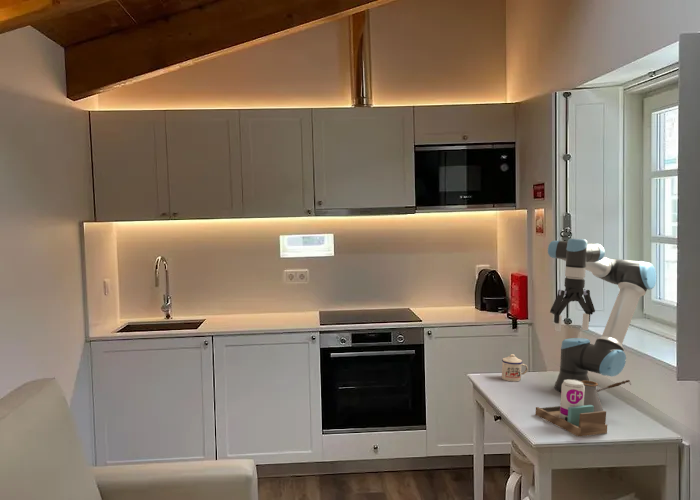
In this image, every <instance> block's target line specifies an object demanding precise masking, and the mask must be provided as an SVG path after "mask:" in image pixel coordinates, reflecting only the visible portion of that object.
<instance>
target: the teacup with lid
mask: <svg viewBox="0 0 700 500" xmlns="http://www.w3.org/2000/svg"><path fill="white" fill-rule="evenodd" d="M501 361H502V362H501V363H502V367H501V379H502V380H504V381H506V382H519V381H521V379H522V375H525V374H526V373H528V370H529V368H528V365H527V364H526V363H523V360H522V359H520V358H518V357H517V356H516V355H515V354H514V353H511V354H510V355H508V356H506V357H503V358H502V360H501ZM523 366H524V367H525V370H524V371H523V372H522V367H523Z"/></svg>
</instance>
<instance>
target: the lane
mask: <svg viewBox="0 0 700 500" xmlns="http://www.w3.org/2000/svg"><path fill="white" fill-rule="evenodd" d="M534 414H535V416H537V417H539V418H540V419H543V420H545V421H547V422H549V424H550V423H551V424H552V425H554V426H557V427H558V428H561V429H562V430H564V431H566V432H568V433H570V434H572V435H574V436H576V437H586V436H587V435H588V436H595V435H601V434H602V435H603V434H607V433H608V424H606V421H607V411H606V410H603V411H598V412H589V413H580V419H579V426H575V425H573V424H571V423H569V422H567V421H565V420H563V419H561V418H560V405H556V406H548V407H540V406H536V407H535V413H534Z"/></svg>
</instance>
